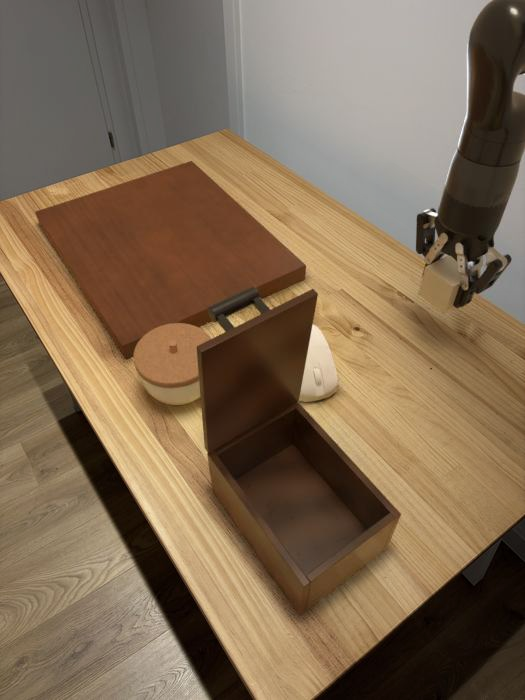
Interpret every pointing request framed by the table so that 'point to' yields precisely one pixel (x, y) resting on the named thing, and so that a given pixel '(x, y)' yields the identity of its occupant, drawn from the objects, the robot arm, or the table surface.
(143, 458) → the table surface
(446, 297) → the block
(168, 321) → the brown flat wooden slab
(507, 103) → the robot arm
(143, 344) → the trinket box
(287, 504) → the chest
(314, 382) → the computer mouse
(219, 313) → the lid
